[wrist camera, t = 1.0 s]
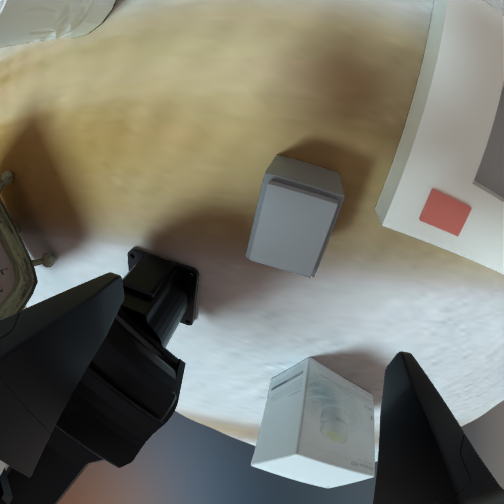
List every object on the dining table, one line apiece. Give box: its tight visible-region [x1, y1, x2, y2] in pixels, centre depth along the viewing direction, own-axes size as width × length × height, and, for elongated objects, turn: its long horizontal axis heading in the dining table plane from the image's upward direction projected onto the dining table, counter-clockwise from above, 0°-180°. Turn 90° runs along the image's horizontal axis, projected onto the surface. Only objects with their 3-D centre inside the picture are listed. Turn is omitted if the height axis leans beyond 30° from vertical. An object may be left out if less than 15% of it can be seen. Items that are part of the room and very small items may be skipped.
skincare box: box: [251, 357, 375, 488], centre depth 24 cm, size 10×6×10 cm, turn 54°
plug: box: [245, 155, 345, 278], centre depth 17 cm, size 5×4×5 cm
